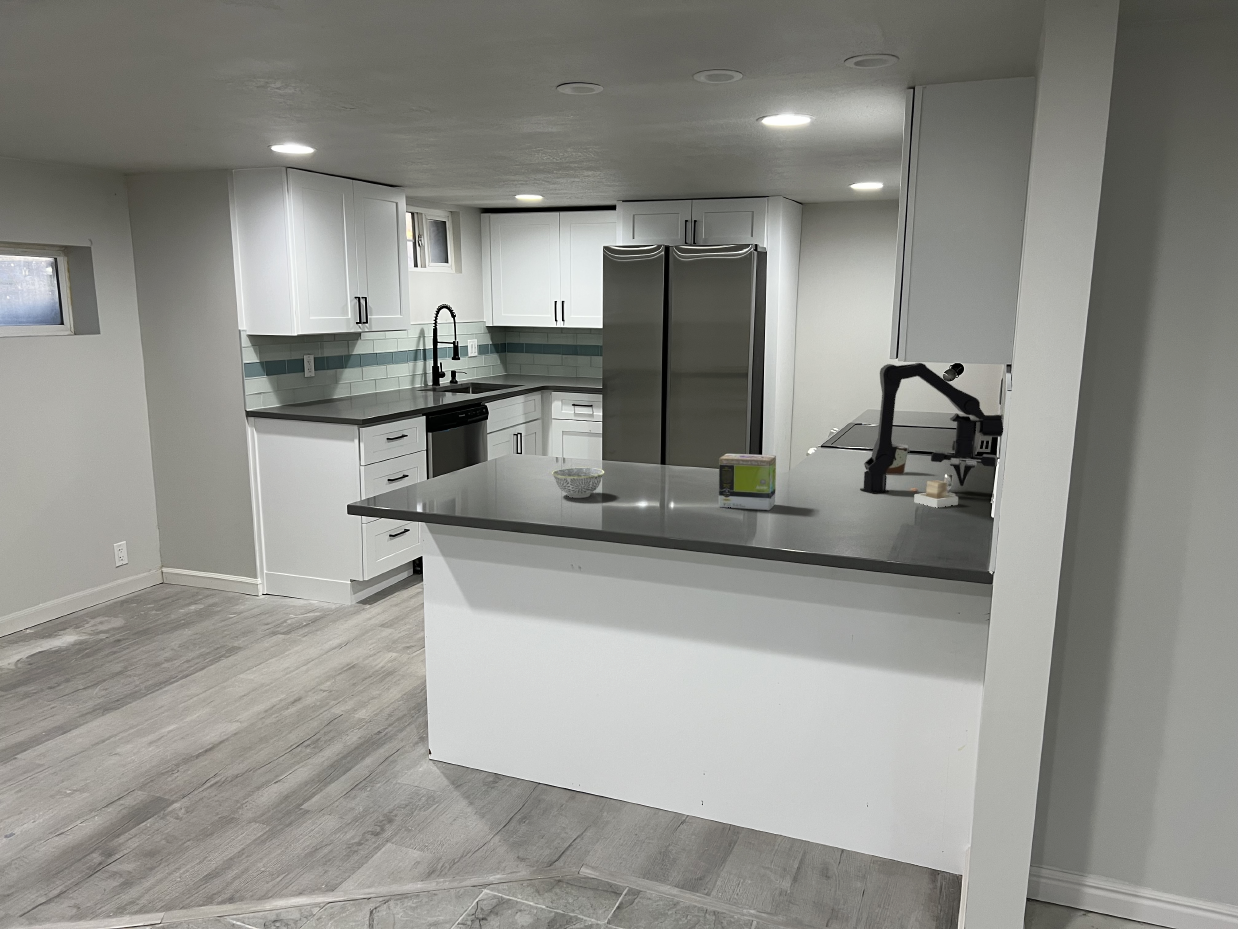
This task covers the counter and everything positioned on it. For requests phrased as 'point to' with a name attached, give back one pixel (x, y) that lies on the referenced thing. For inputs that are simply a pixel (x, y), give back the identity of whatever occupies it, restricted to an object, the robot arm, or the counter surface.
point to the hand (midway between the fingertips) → (961, 485)
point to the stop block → (936, 489)
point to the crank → (948, 480)
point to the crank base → (947, 492)
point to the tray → (936, 500)
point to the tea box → (747, 481)
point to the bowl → (578, 480)
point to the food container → (899, 460)
